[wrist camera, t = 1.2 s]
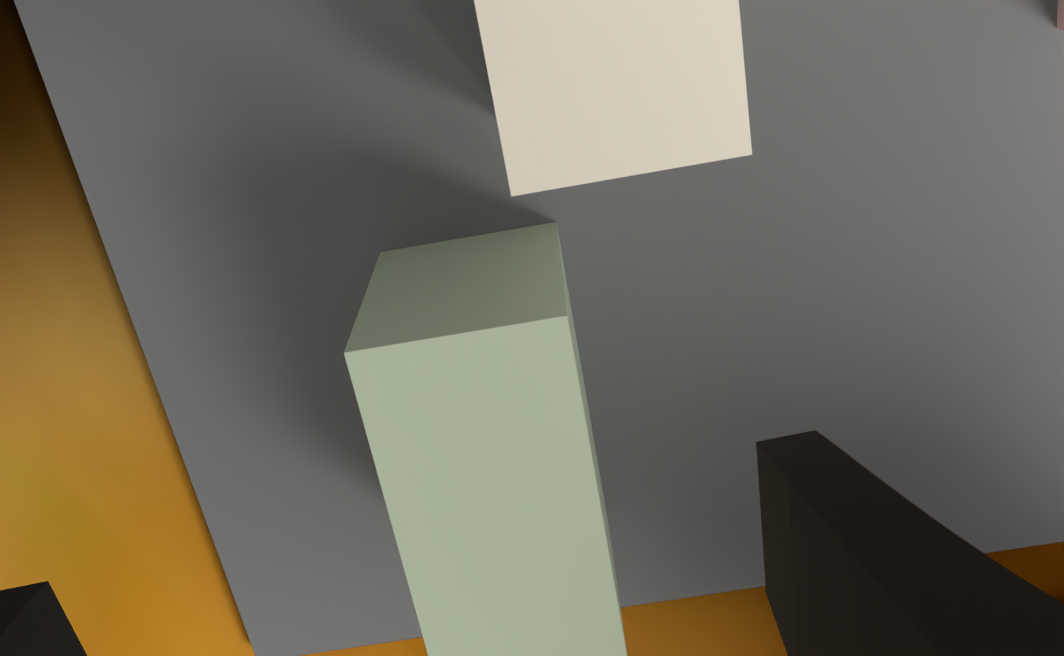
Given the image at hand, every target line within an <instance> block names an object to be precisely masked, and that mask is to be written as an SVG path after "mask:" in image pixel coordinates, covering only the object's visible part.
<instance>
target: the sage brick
mask: <svg viewBox="0 0 1064 656" xmlns="http://www.w3.org/2000/svg"><path fill="white" fill-rule="evenodd" d="M344 356H345V359H346V363H347V366H348V370H349V374H350V377H351V381H352V384H353V388H354V392H355V395H356V399H357V402H358V406H359V409H360V413H361V417H362V420H363V424H364V427H365V431H366V435H367V438H368V442H369V445H370V449H371V452H372V456H373V460H374V463H375V467H376V470H377V474H378V478H379V481H380V485H381V488H382V492H383V496H384V499H385V503H386V506H387V510H388V513H389V517H390V521H391V524H392V528H393V531H394V535H395V539H396V542H397V546H398V549H399V553H400V556H401V560H402V564H403V567H404V571H405V574H406V578H407V582H408V585H409V589H410V592H411V596H412V600H413V603H414V607H415V610H416V614H417V617H418V621H419V625H420V628H421V632H422V635H423V639H424V643H425V646H426V650H427V653H428V656H627V650H626V643H625V636H624V629H623V622H622V615H621V608H620V601H619V594H618V587H617V580H616V573H615V566H614V559H613V552H612V545H611V538H610V531H609V524H608V517H607V511H606V506H605V500H604V494H603V488H602V482H601V477H600V471H599V465H598V459H597V454H596V448H595V442H594V436H593V430H592V425H591V419H590V413H589V407H588V402H587V396H586V390H585V384H584V379H583V373H582V367H581V361H580V355H579V350H578V344H577V338H576V332H575V327H574V321H573V315H572V309H571V303H570V298H569V292H568V286H567V280H566V275H565V269H564V263H563V257H562V251H561V246H560V240H559V234H558V228H557V223H556V222H553V223H547V224H541V225H535V226H529V227H524V228H518V229H512V230H506V231H500V232H494V233H489V234H483V235H477V236H471V237H465V238H460V239H454V240H448V241H442V242H436V243H430V244H425V245H419V246H413V247H407V248H401V249H395V250H390V251H384V252H380V254H379V257H378V260H377V263H376V265H375V268H374V271H373V274H372V276H371V279H370V282H369V285H368V287H367V290H366V293H365V296H364V298H363V301H362V304H361V307H360V309H359V312H358V315H357V318H356V320H355V323H354V326H353V329H352V331H351V334H350V337H349V340H348V342H347V345H346V348H345V351H344Z"/></svg>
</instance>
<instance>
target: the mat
mask: <svg viewBox="0 0 1064 656" xmlns="http://www.w3.org/2000/svg"><path fill="white" fill-rule="evenodd" d="M14 2H15V5H16V7H17V10H18V13H19V16H20V18H21V21H22V24H23V26H24V29H25V32H26V35H27V37H28V40H29V43H30V45H31V48H32V51H33V54H34V56H35V59H36V62H37V64H38V67H39V70H40V73H41V75H42V78H43V81H44V83H45V86H46V89H47V92H48V94H49V97H50V100H51V102H52V105H53V108H54V111H55V113H56V116H57V119H58V121H59V124H60V127H61V130H62V132H63V135H64V138H65V140H66V143H67V146H68V149H69V151H70V154H71V157H72V159H73V162H74V165H75V168H76V170H77V173H78V176H79V178H80V181H81V184H82V187H83V189H84V192H85V195H86V197H87V200H88V203H89V206H90V208H91V211H92V214H93V216H94V219H95V222H96V225H97V227H98V230H99V233H100V235H101V238H102V241H103V244H104V246H105V249H106V252H107V254H108V257H109V260H110V263H111V265H112V268H113V271H114V273H115V276H116V279H117V282H118V284H119V287H120V290H121V292H122V295H123V298H124V301H125V303H126V306H127V309H128V311H129V314H130V317H131V320H132V322H133V325H134V328H135V330H136V333H137V336H138V338H139V341H140V344H141V347H142V349H143V352H144V355H145V357H146V360H147V363H148V366H149V368H150V371H151V374H152V376H153V379H154V382H155V385H156V387H157V390H158V393H159V395H160V398H161V401H162V404H163V406H164V409H165V412H166V414H167V417H168V420H169V423H170V425H171V428H172V431H173V433H174V436H175V439H176V442H177V444H178V447H179V450H180V452H181V455H182V458H183V461H184V463H185V466H186V469H187V471H188V474H189V477H190V480H191V482H192V485H193V488H194V490H195V493H196V496H197V499H198V501H199V504H200V507H201V509H202V512H203V515H204V518H205V520H206V523H207V526H208V528H209V531H210V534H211V537H212V539H213V542H214V545H215V547H216V550H217V553H218V556H219V558H220V561H221V564H222V566H223V569H224V572H225V575H226V577H227V580H228V583H229V585H230V588H231V591H232V594H233V596H234V599H235V602H236V604H237V607H238V610H239V613H240V615H241V618H242V621H243V623H244V626H245V629H246V632H247V634H248V637H249V640H250V642H251V645H252V648H253V651H254V653H255V656H299V655H305V654H312V653H319V652H325V651H332V650H339V649H346V648H352V647H359V646H366V645H372V644H379V643H386V642H393V641H399V640H406V639H413V638H419V637H423V635H422V632H421V628H420V625H419V621H418V617H417V614H416V610H415V607H414V603H413V600H412V596H411V592H410V589H409V585H408V582H407V578H406V574H405V571H404V567H403V564H402V560H401V556H400V553H399V549H398V546H397V542H396V539H395V535H394V531H393V528H392V524H391V521H390V517H389V513H388V510H387V506H386V503H385V499H384V496H383V492H382V488H381V485H380V481H379V478H378V474H377V470H376V467H375V463H374V460H373V456H372V452H371V449H370V445H369V442H368V438H367V435H366V431H365V427H364V424H363V420H362V417H361V413H360V409H359V406H358V402H357V399H356V395H355V392H354V388H353V384H352V381H351V377H350V374H349V370H348V366H347V363H346V359H345V356H344V351H345V348H346V345H347V342H348V340H349V337H350V334H351V331H352V329H353V326H354V323H355V320H356V318H357V315H358V312H359V309H360V307H361V304H362V301H363V298H364V296H365V293H366V290H367V287H368V285H369V282H370V279H371V276H372V274H373V271H374V268H375V265H376V263H377V260H378V257H379V254H380V252H384V251H390V250H395V249H401V248H407V247H413V246H419V245H425V244H430V243H436V242H442V241H448V240H454V239H460V238H465V237H471V236H477V235H483V234H489V233H494V232H500V231H506V230H512V229H518V228H524V227H529V226H535V225H541V224H547V223H553V222H556V223H557V228H558V234H559V240H560V246H561V251H562V257H563V263H564V269H565V275H566V280H567V286H568V292H569V298H570V303H571V309H572V315H573V321H574V327H575V332H576V338H577V344H578V350H579V355H580V361H581V367H582V373H583V379H584V384H585V390H586V396H587V402H588V407H589V413H590V419H591V425H592V430H593V436H594V442H595V448H596V454H597V459H598V465H599V471H600V477H601V482H602V488H603V494H604V500H605V506H606V511H607V517H608V524H609V531H610V538H611V545H612V552H613V559H614V566H615V573H616V580H617V587H618V594H619V601H620V608H621V607H628V606H634V605H641V604H648V603H655V602H661V601H668V600H675V599H681V598H688V597H695V596H702V595H708V594H715V593H722V592H728V591H735V590H742V589H749V588H755V587H762V586H766V585H765V570H764V555H763V540H762V525H761V510H760V494H759V479H758V464H757V449H756V442H758V441H763V440H768V439H773V438H778V437H783V436H788V435H793V434H798V433H803V432H809V431H814V430H816V431H817V432H819V433H820V434H821V435H823V436H824V437H826V438H827V439H828V440H830V441H831V442H832V443H834V444H835V445H836V446H838V447H839V448H840V449H842V450H843V451H844V452H846V453H847V454H848V455H850V456H851V457H852V458H854V459H855V460H856V461H857V462H859V463H860V464H861V465H863V466H864V467H865V468H867V469H868V470H869V471H871V472H872V473H873V474H875V475H876V476H877V477H879V478H880V479H881V480H882V481H884V482H885V483H886V484H888V485H889V486H890V487H892V488H893V489H895V490H896V491H897V492H899V493H900V494H901V495H903V496H904V497H905V498H907V499H908V500H909V501H911V502H912V503H913V504H915V505H916V506H917V507H919V508H920V509H922V510H923V511H924V512H926V513H927V514H928V515H930V516H931V517H933V518H934V519H935V520H937V521H938V522H940V523H941V524H942V525H944V526H945V527H947V528H948V529H950V530H951V531H953V532H954V533H955V534H957V535H958V536H960V537H961V538H963V539H964V540H966V541H967V542H968V543H970V544H971V545H973V546H974V547H976V548H977V549H979V550H980V551H981V552H983V553H990V552H997V551H1004V550H1011V549H1017V548H1024V547H1031V546H1037V545H1044V544H1051V543H1058V542H1064V31H1063V30H1060V29H1057V10H1058V0H739V9H740V20H741V32H742V43H743V55H744V66H745V77H746V89H747V100H748V112H749V123H750V134H751V146H752V155H748V156H742V157H736V158H730V159H725V160H719V161H713V162H707V163H702V164H696V165H690V166H684V167H679V168H673V169H667V170H661V171H656V172H650V173H644V174H638V175H633V176H627V177H621V178H615V179H609V180H604V181H598V182H592V183H586V184H581V185H575V186H569V187H563V188H558V189H552V190H546V191H540V192H535V193H529V194H523V195H517V196H512V197H511V193H510V187H509V182H508V177H507V172H506V166H505V161H504V156H503V151H502V145H501V140H500V135H499V130H498V124H497V119H496V114H495V109H494V103H493V98H492V93H491V87H490V82H489V77H488V72H487V66H486V61H485V56H484V51H483V45H482V40H481V35H480V30H479V24H478V19H477V14H476V9H475V3H474V0H14Z"/></svg>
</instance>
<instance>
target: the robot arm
mask: <svg viewBox="0 0 1064 656" xmlns="http://www.w3.org/2000/svg"><path fill="white" fill-rule="evenodd" d="M756 449H757V464H758V479H759V494H760V510H761V525H762V540H763V555H764V570H765V585H766V594H767V597H768V600H769V603H770V606H771V608H772V611H773V614H774V617H775V620H776V623H777V626H778V628H779V631H780V634H781V637H782V640H783V643H784V645H785V648H786V651H787V653H788V656H1064V604H1062V603H1061V602H1059V601H1057V600H1056V599H1054V598H1053V597H1051V596H1049V595H1048V594H1046V593H1044V592H1043V591H1041V590H1040V589H1038V588H1036V587H1035V586H1033V585H1032V584H1030V583H1028V582H1027V581H1025V580H1023V579H1022V578H1020V577H1019V576H1017V575H1016V574H1014V573H1013V572H1011V571H1010V570H1008V569H1007V568H1005V567H1004V566H1002V565H1001V564H999V563H997V562H996V561H994V560H993V559H992V558H990V557H989V556H987V555H986V554H984V553H983V552H981V551H980V550H979V549H977V548H976V547H974V546H973V545H971V544H970V543H968V542H967V541H966V540H964V539H963V538H961V537H960V536H958V535H957V534H955V533H954V532H953V531H951V530H950V529H948V528H947V527H945V526H944V525H942V524H941V523H940V522H938V521H937V520H935V519H934V518H933V517H931V516H930V515H928V514H927V513H926V512H924V511H923V510H922V509H920V508H919V507H917V506H916V505H915V504H913V503H912V502H911V501H909V500H908V499H907V498H905V497H904V496H903V495H901V494H900V493H899V492H897V491H896V490H895V489H893V488H892V487H890V486H889V485H888V484H886V483H885V482H884V481H882V480H881V479H880V478H879V477H877V476H876V475H875V474H873V473H872V472H871V471H869V470H868V469H867V468H865V467H864V466H863V465H861V464H860V463H859V462H857V461H856V460H855V459H854V458H852V457H851V456H850V455H848V454H847V453H846V452H844V451H843V450H842V449H840V448H839V447H838V446H836V445H835V444H834V443H832V442H831V441H830V440H828V439H827V438H826V437H824V436H823V435H821V434H820V433H819V432H817V431H816V430H814V431H809V432H803V433H798V434H793V435H788V436H783V437H778V438H773V439H768V440H763V441H758V442H756ZM0 656H87V655H86V653H85V651H84V649H83V647H82V645H81V643H80V641H79V639H78V637H77V636H76V634H75V632H74V630H73V628H72V626H71V624H70V622H69V620H68V618H67V616H66V615H65V613H64V611H63V609H62V607H61V605H60V603H59V601H58V599H57V597H56V595H55V594H54V592H53V590H52V588H51V586H50V584H49V582H48V581H46V582H41V583H36V584H31V585H26V586H21V587H16V588H11V589H6V590H1V591H0Z"/></svg>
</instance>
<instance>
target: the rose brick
mask: <svg viewBox="0 0 1064 656" xmlns="http://www.w3.org/2000/svg"><path fill="white" fill-rule="evenodd" d="M1057 29H1060V30H1063V31H1064V0H1058V10H1057Z"/></svg>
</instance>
